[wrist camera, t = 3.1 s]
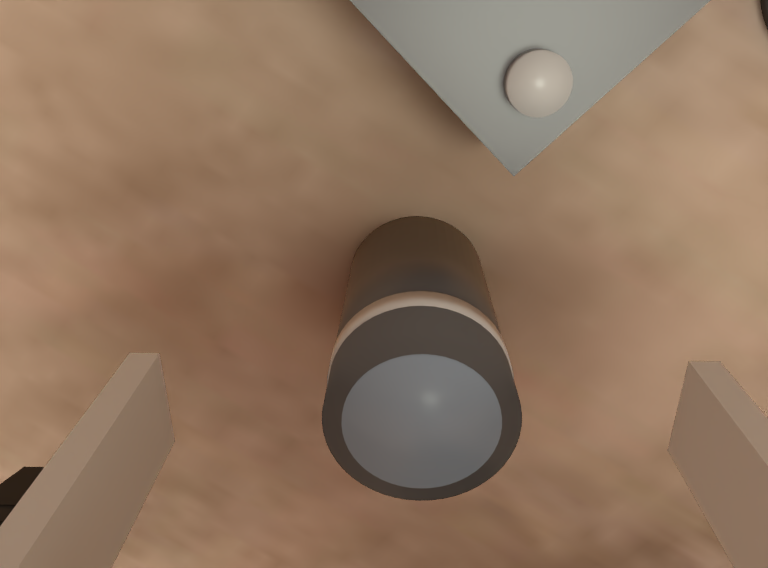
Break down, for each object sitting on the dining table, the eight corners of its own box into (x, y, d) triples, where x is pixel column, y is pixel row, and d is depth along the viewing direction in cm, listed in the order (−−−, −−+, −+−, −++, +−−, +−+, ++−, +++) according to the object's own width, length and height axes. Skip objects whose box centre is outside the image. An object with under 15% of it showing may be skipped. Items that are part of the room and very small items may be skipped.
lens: (414, 361, 26) (418, 534, 17) (321, 278, 24) (277, 423, 16) (511, 280, 24) (567, 428, 16) (417, 186, 23) (425, 294, 14)
